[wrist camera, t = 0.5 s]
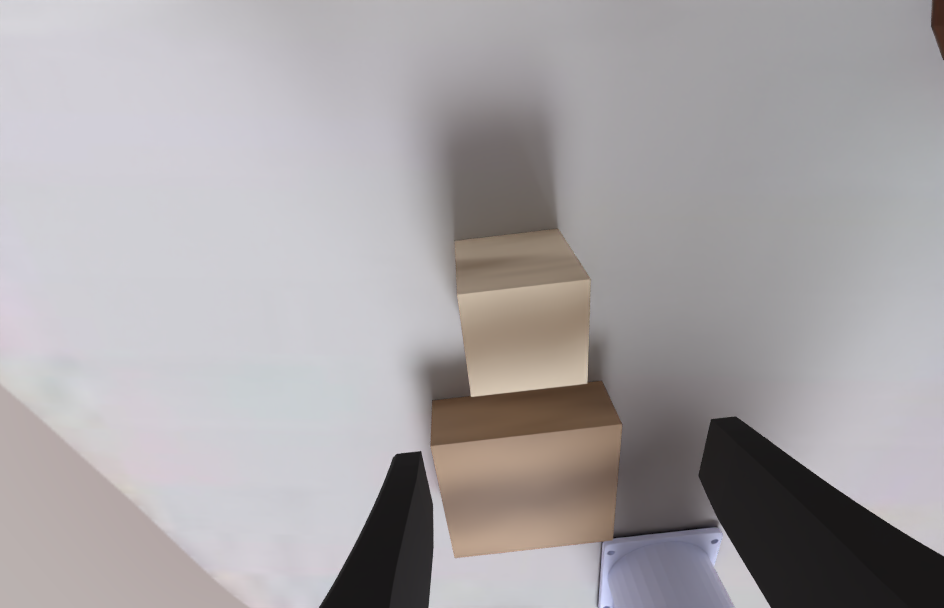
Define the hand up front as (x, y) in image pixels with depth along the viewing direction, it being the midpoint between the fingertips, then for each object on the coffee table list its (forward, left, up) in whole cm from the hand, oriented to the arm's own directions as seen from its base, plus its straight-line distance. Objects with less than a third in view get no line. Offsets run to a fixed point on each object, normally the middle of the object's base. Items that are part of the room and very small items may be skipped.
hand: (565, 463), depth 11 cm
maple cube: (0, 0, -10) cm, 11 cm away
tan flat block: (-11, 0, -11) cm, 15 cm away
